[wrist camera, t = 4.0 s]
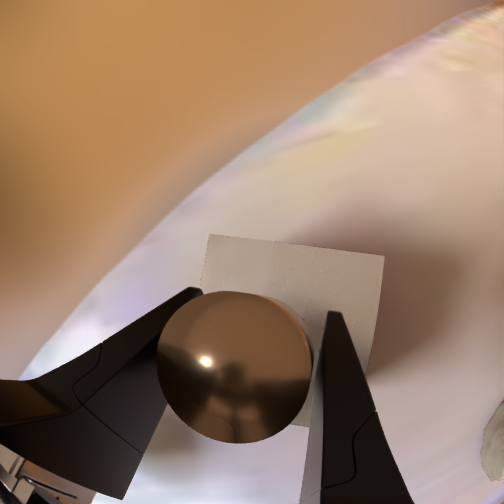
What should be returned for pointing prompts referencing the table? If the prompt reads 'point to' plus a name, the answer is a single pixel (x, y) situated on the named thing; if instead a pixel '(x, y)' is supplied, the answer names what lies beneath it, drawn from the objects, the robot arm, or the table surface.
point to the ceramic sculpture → (494, 446)
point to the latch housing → (302, 287)
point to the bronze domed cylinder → (235, 365)
